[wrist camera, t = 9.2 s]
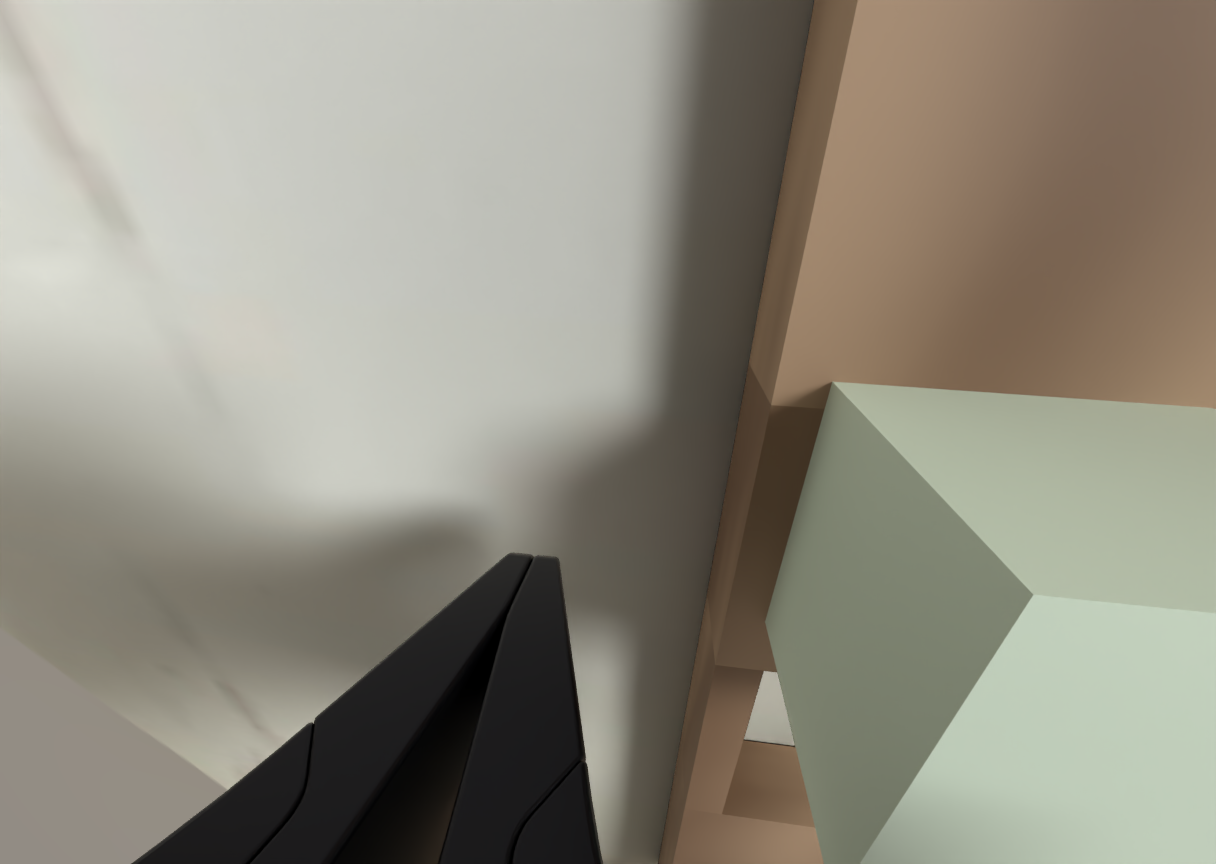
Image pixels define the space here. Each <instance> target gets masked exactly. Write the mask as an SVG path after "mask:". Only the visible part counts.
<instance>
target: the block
mask: <svg viewBox="0 0 1216 864" xmlns="http://www.w3.org/2000/svg"><path fill="white" fill-rule="evenodd" d="M765 624H766V628H767V632H768V636H769V640H770V644H771V648H772V652H773V656H774V661H775V665H776V669H777V673H778V677H779V681H780V685H781V689H782V694H783V698H784V702H785V706H786V710H787V714H788V718H789V722H790V726H791V731H792V735H793V739H794V743H795V747H796V751H797V755H798V759H799V763H800V768H801V772H802V776H803V780H804V784H805V788H806V792H807V796H808V800H809V805H810V809H811V813H812V817H813V821H814V825H815V829H816V833H817V837H818V842H819V846H820V850H821V854H822V858H823V862H824V864H1216V409H1214V408H1205V407H1190V406H1176V405H1162V404H1147V403H1133V402H1118V401H1104V400H1090V399H1075V398H1061V397H1046V396H1032V395H1018V394H1003V393H989V392H975V391H960V390H946V389H931V388H917V387H903V386H888V385H874V384H859V383H845V382H832V385H831V388H830V392H829V395H828V399H827V402H826V406H825V410H824V413H823V417H822V420H821V424H820V427H819V431H818V435H817V438H816V442H815V445H814V449H813V452H812V456H811V460H810V463H809V467H808V470H807V474H806V477H805V481H804V485H803V488H802V492H801V495H800V499H799V502H798V506H797V510H796V513H795V517H794V520H793V524H792V527H791V531H790V535H789V538H788V542H787V545H786V549H785V553H784V556H783V560H782V563H781V567H780V570H779V574H778V578H777V581H776V585H775V588H774V592H773V595H772V599H771V603H770V606H769V610H768V613H767V617H766V620H765Z"/></svg>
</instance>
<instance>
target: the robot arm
mask: <svg viewBox="0 0 1216 864" xmlns="http://www.w3.org/2000/svg"><path fill="white" fill-rule="evenodd" d="M132 864H603V861H602V856H601V851H600V845H599V839H598V833H597V827H596V821H595V815H594V809H593V803H592V797H591V789H590V782H589V775H588V767H587V764H586V755H585V747H584V740H583V733H582V725H581V718H580V710H579V703H578V696H577V688H576V681H575V673H574V666H573V659H572V651H571V644H570V636H569V629H568V622H567V614H566V607H565V599H564V592H563V585H562V577H561V570H560V563H559V559H558V558H557V557H551V556H541V555H537V556H535V557H533V556H532V555H530V554H522V553H509V554H507V555H506V556H505V557H504V558H502V559H501V560H500V561H499V562H498V563H497V564H495V565H494V566H493V567H492V568H491V569H490V570H488V571H487V572H486V573H485V574H484V575H482V576H481V577H480V578H479V579H478V580H477V581H475V582H474V583H473V584H472V585H471V586H470V587H468V588H467V589H466V590H465V591H464V592H462V593H461V594H460V595H459V596H458V597H457V598H455V599H454V600H453V601H452V602H451V603H450V604H448V605H447V606H446V607H445V608H444V609H443V610H441V611H440V612H439V613H438V614H437V615H435V616H434V617H433V618H432V619H431V620H430V621H428V622H427V623H426V624H425V625H424V626H423V627H421V628H420V629H419V630H418V631H417V632H415V633H414V634H413V635H412V636H411V637H410V638H408V639H407V640H406V641H405V642H404V643H403V644H401V645H400V646H399V647H398V648H397V649H395V650H394V651H393V652H392V653H391V654H390V655H388V656H387V657H386V658H385V659H384V660H383V661H381V662H380V663H379V664H378V665H377V666H375V667H374V668H373V669H372V670H371V671H370V672H368V673H367V674H366V675H365V676H364V677H363V678H361V679H360V680H359V681H358V682H357V683H356V684H354V685H353V686H352V687H351V688H350V689H348V690H347V691H346V692H345V693H344V694H343V695H341V696H340V697H339V698H338V699H337V700H336V701H334V702H333V703H332V704H331V705H330V706H328V707H327V708H326V709H325V710H324V711H323V712H321V713H320V714H319V715H318V716H317V717H316V718H315V721H314V723H308V724H307V725H306V726H305V727H303V728H302V729H301V730H300V731H299V732H298V733H296V734H295V735H294V736H293V737H292V738H291V739H289V740H288V741H287V742H286V743H285V744H283V745H282V746H281V747H280V748H279V749H278V750H276V751H275V752H274V753H273V754H271V755H270V756H269V757H268V758H267V759H265V760H264V761H263V762H262V763H260V764H259V765H258V766H257V767H256V768H254V769H253V770H252V771H251V772H249V773H248V774H247V775H246V776H245V777H243V778H242V779H241V780H240V781H239V782H237V783H236V784H235V785H234V786H232V787H231V788H230V789H229V790H228V791H226V792H225V793H224V794H223V795H221V796H220V797H218V798H217V799H216V800H215V801H213V802H212V803H211V804H210V805H208V806H207V807H206V808H204V809H203V810H202V811H200V812H199V813H198V814H196V815H195V816H194V817H193V818H191V819H190V820H189V821H187V822H186V823H185V824H183V825H182V826H181V827H179V828H178V829H177V830H176V831H174V832H173V833H172V834H170V835H169V836H168V837H166V838H165V839H164V840H163V841H161V842H160V843H159V844H157V845H156V846H155V847H153V848H152V849H151V850H149V851H148V852H147V853H145V854H144V855H142V856H141V857H140V858H138V859H137V860H136V861H134V862H133V863H132Z"/></svg>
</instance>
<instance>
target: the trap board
mask: <svg viewBox="0 0 1216 864" xmlns="http://www.w3.org/2000/svg"><path fill="white" fill-rule="evenodd" d="M832 382H845V383H859V384H874V385H888V386H903V387H917V388H931V389H946V390H960V391H975V392H989V393H1003V394H1018V395H1032V396H1046V397H1061V398H1075V399H1090V400H1104V401H1118V402H1133V403H1147V404H1162V405H1176V406H1190V407H1205V408H1214V409H1216V0H814V6H813V11H812V17H811V22H810V28H809V33H808V39H807V44H806V50H805V55H804V61H803V66H802V72H801V78H800V83H799V89H798V94H797V100H796V105H795V111H794V116H793V122H792V127H791V133H790V138H789V144H788V149H787V155H786V160H785V166H784V171H783V177H782V182H781V188H780V193H779V199H778V204H777V210H776V215H775V221H774V226H773V232H772V238H771V243H770V249H769V254H768V260H767V265H766V271H765V276H764V282H763V287H762V293H761V298H760V304H759V309H758V315H757V320H756V326H755V331H754V337H753V342H752V348H751V353H750V359H749V364H748V370H747V375H746V381H745V387H744V392H743V398H742V403H741V409H740V414H739V420H738V425H737V431H736V436H735V442H734V447H733V453H732V458H731V464H730V469H729V475H728V480H727V486H726V491H725V497H724V502H723V508H722V513H721V519H720V524H719V530H718V535H717V541H716V547H715V552H714V558H713V563H712V569H711V574H710V580H709V585H708V591H707V596H706V602H705V607H704V613H703V618H702V624H701V629H700V635H699V640H698V646H697V651H696V657H695V662H694V668H693V673H692V679H691V684H690V690H689V696H688V701H687V707H686V712H685V718H684V723H683V729H682V734H681V740H680V745H679V751H678V756H677V762H676V767H675V773H674V778H673V784H672V789H671V795H670V800H669V806H668V811H667V817H666V822H665V828H664V833H663V839H662V844H661V850H660V856H659V861H658V864H824V862H823V858H822V854H821V850H820V846H819V842H818V837H817V833H816V829H815V825H814V821H813V817H812V813H811V809H810V805H809V800H808V796H807V792H806V788H805V784H804V780H803V776H802V772H801V768H800V763H799V759H798V755H797V751H796V747H790V746H783V745H775V744H767V743H760V742H752V741H745V740H744V736H745V733H746V730H747V726H748V723H749V719H750V716H751V712H752V709H753V706H754V702H755V699H756V695H757V692H758V689H759V685H760V682H761V678H762V675H763V671H770V672H777V669H776V665H775V661H774V656H773V652H772V648H771V644H770V640H769V636H768V632H767V628H766V624H765V620H766V617H767V613H768V610H769V606H770V603H771V599H772V595H773V592H774V588H775V585H776V581H777V578H778V574H779V570H780V567H781V563H782V560H783V556H784V553H785V549H786V545H787V542H788V538H789V535H790V531H791V527H792V524H793V520H794V517H795V513H796V510H797V506H798V502H799V499H800V495H801V492H802V488H803V485H804V481H805V477H806V474H807V470H808V467H809V463H810V460H811V456H812V452H813V449H814V445H815V442H816V438H817V435H818V431H819V427H820V424H821V420H822V417H823V413H824V410H825V406H826V402H827V399H828V395H829V392H830V388H831V385H832Z"/></svg>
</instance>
